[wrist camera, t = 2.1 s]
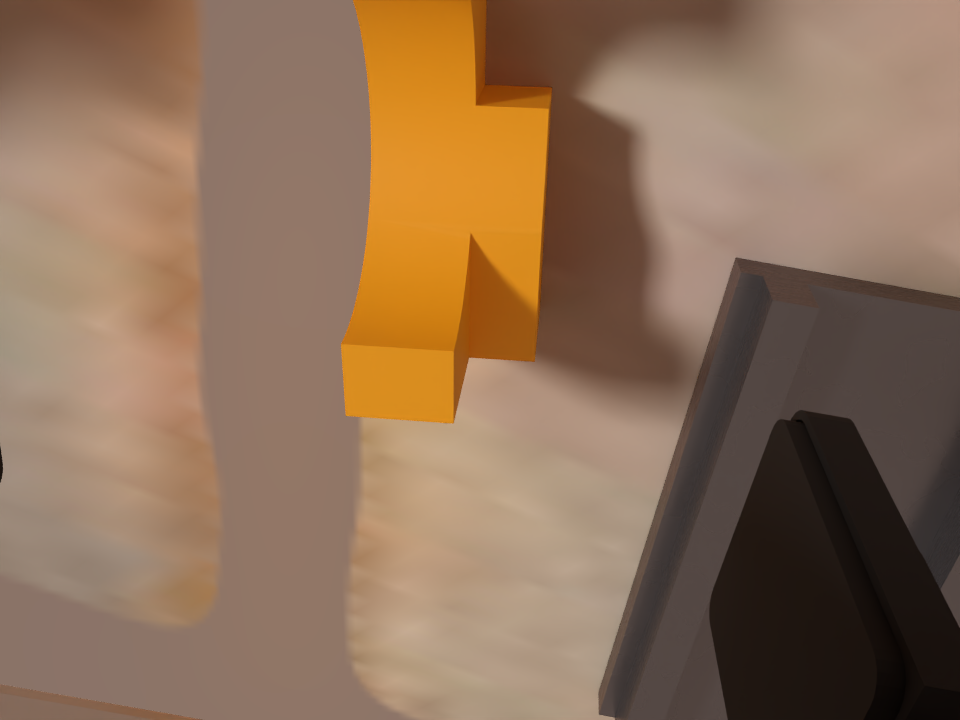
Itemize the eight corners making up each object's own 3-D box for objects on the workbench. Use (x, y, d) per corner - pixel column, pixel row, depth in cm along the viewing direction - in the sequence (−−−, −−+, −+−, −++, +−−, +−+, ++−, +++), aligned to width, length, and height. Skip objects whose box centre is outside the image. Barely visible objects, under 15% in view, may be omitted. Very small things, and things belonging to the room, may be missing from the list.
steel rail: (1092, 322, 25) (1141, 366, 23) (861, 742, 34) (879, 802, 32) (735, 257, 25) (749, 296, 23) (598, 692, 34) (599, 749, 32)
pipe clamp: (540, 308, 27) (527, 428, 21) (395, 300, 27) (345, 415, 22) (565, -158, 21) (557, -163, 15) (381, -161, 21) (307, -167, 16)
